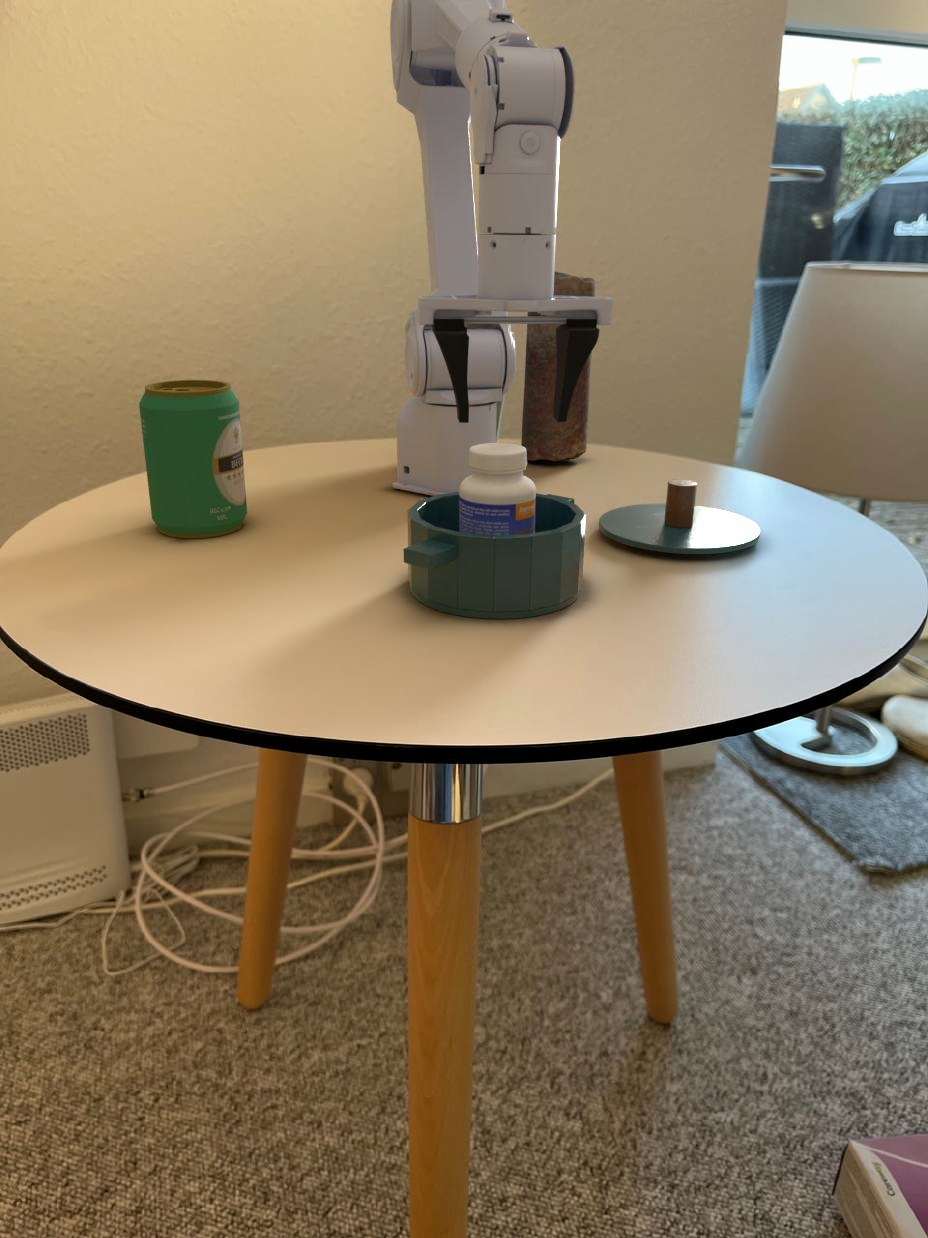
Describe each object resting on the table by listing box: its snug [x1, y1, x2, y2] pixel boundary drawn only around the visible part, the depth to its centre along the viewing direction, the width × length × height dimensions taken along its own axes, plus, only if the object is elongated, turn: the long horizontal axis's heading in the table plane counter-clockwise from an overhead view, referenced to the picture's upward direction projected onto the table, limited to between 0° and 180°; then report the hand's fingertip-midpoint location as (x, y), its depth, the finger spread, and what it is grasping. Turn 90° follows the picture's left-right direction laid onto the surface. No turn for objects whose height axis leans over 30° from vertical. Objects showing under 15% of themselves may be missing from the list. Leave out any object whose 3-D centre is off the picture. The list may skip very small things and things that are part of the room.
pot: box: [403, 492, 587, 620], centre depth 70 cm, size 12×18×6 cm
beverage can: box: [138, 379, 248, 539], centre depth 83 cm, size 8×8×12 cm
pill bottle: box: [459, 442, 537, 535], centre depth 69 cm, size 5×5×10 cm
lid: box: [598, 478, 761, 555], centre depth 83 cm, size 13×13×5 cm
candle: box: [520, 270, 597, 462], centre depth 107 cm, size 8×7×20 cm
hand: (511, 420), depth 77 cm, fingers open, 7 cm apart
